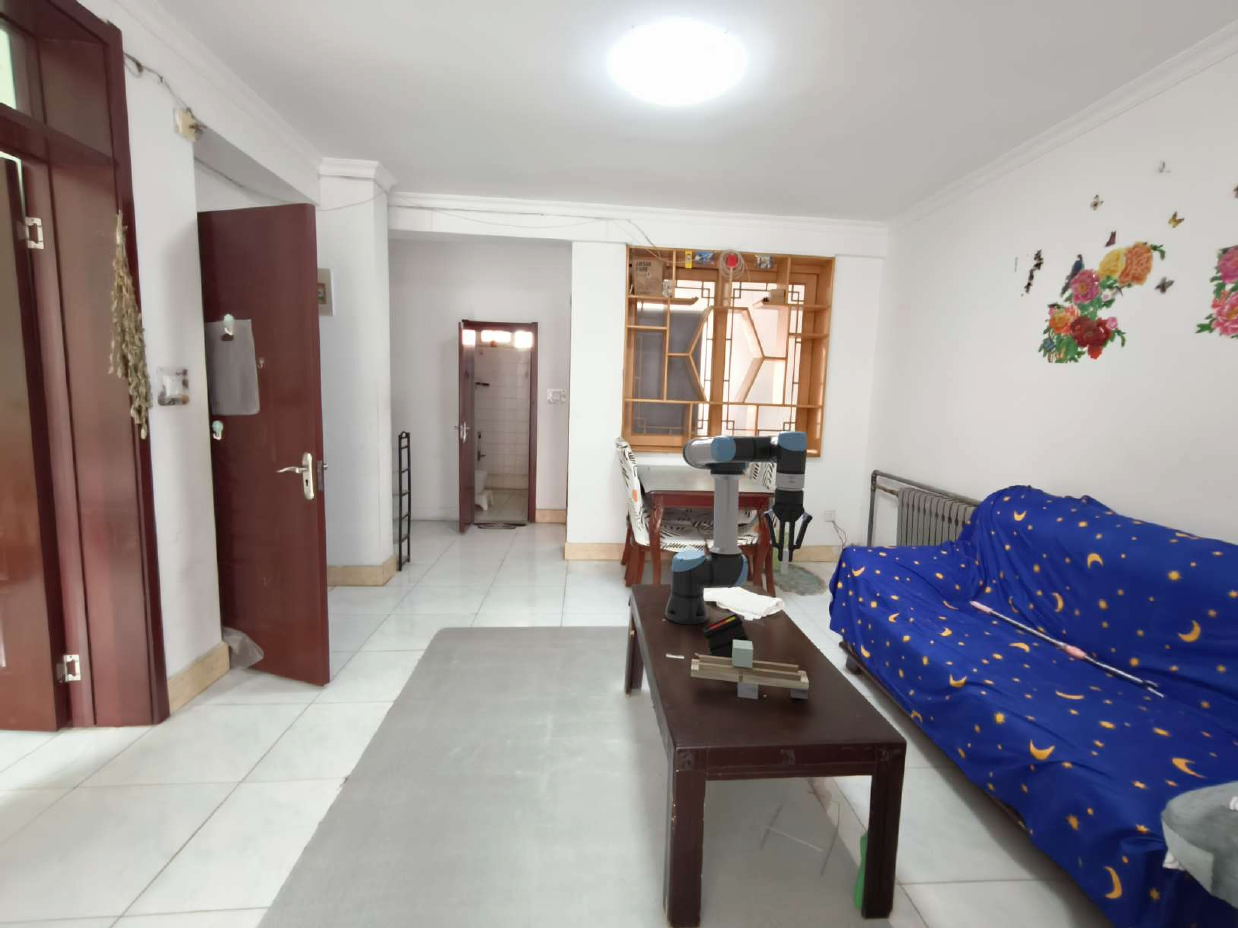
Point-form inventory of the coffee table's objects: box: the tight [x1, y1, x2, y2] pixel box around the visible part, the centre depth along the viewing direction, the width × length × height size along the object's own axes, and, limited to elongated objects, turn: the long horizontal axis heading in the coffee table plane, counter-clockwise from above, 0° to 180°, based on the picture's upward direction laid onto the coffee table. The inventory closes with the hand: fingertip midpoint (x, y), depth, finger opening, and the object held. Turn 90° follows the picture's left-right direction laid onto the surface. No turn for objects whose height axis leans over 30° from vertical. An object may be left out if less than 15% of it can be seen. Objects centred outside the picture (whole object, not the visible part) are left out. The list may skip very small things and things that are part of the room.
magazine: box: [702, 613, 749, 658], centre depth 159 cm, size 4×13×15 cm, turn 92°
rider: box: [732, 640, 754, 668], centre depth 144 cm, size 5×5×7 cm
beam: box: [690, 654, 810, 700], centre depth 144 cm, size 6×30×8 cm, turn 80°
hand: (784, 572), depth 150 cm, fingers closed
